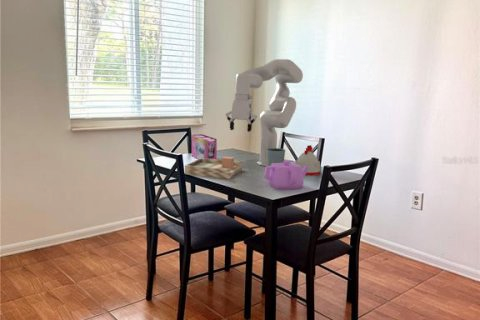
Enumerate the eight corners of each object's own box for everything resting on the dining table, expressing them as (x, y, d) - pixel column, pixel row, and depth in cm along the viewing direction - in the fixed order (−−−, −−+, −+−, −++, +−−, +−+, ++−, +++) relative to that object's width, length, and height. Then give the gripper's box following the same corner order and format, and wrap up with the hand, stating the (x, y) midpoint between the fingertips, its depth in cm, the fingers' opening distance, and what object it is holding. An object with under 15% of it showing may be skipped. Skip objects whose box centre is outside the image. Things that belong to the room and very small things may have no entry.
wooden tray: (241, 170, 232) (242, 162, 231) (229, 178, 211) (229, 169, 210) (201, 166, 238) (201, 158, 238) (184, 174, 218) (184, 165, 217)
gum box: (217, 162, 252) (218, 139, 249) (205, 162, 248) (205, 139, 246) (202, 155, 273) (202, 134, 270) (191, 155, 269) (191, 134, 267)
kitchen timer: (323, 172, 233) (325, 145, 230) (313, 176, 222) (315, 148, 219) (301, 168, 241) (302, 142, 238) (289, 172, 230) (291, 145, 227)
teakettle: (261, 187, 197) (262, 161, 194) (275, 180, 212) (277, 156, 209) (296, 193, 189) (297, 165, 187) (308, 185, 204) (310, 160, 202)
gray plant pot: (283, 173, 227) (284, 151, 224) (264, 172, 229) (265, 150, 226) (284, 169, 236) (286, 148, 234) (266, 168, 238) (267, 147, 236)
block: (233, 166, 228) (234, 157, 227) (230, 168, 224) (231, 158, 223) (224, 165, 230) (225, 156, 229) (221, 167, 225) (222, 158, 224)
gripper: (260, 98, 221) (258, 131, 223) (229, 96, 227) (228, 128, 230) (255, 98, 214) (253, 132, 217) (223, 96, 220) (222, 129, 223)
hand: (240, 130), depth 223 cm, fingers open, 9 cm apart
